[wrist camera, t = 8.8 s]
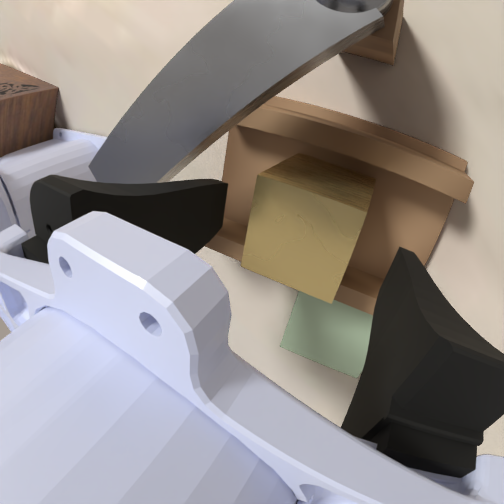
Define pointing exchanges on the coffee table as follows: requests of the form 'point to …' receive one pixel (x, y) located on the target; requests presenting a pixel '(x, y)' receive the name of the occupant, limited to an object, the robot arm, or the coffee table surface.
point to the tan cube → (306, 223)
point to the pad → (329, 334)
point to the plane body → (355, 158)
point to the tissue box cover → (25, 110)
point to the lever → (228, 80)
